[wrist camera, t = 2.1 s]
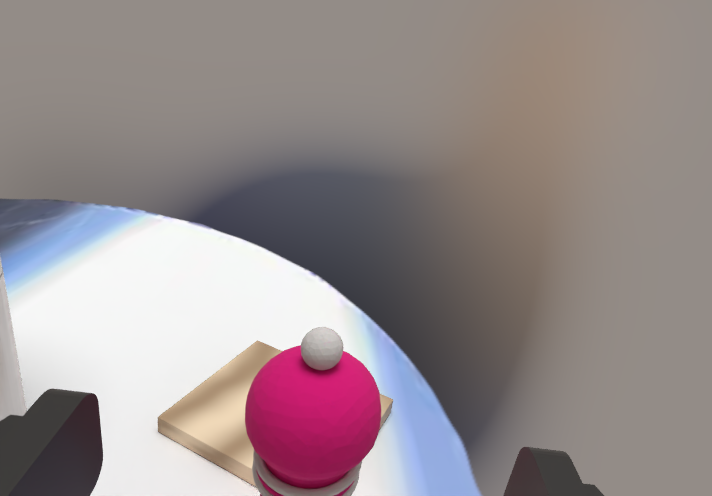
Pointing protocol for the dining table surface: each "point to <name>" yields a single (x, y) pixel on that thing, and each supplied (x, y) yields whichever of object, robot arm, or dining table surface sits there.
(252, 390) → the pepper mill
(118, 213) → the dining table surface
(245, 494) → the dining table surface
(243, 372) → the birch board
